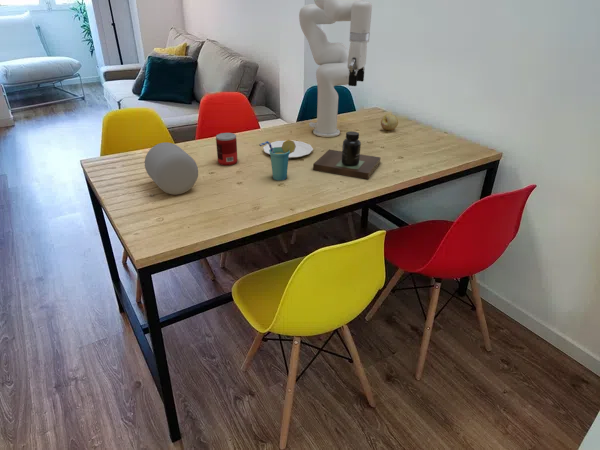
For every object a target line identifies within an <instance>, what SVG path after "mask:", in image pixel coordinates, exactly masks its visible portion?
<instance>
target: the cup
mask: <svg viewBox="0 0 600 450" xmlns="http://www.w3.org/2000/svg"><path fill="white" fill-rule="evenodd" d="M286 140H287V141H286ZM286 140H284V141H285V142H283V145H282V147H274V148H272V146H271V143H272V142H270V141H269V140H267V141H264V142H262V143H259V147H262V146H266V145H267V144H269V147H270V150H269V153H270V154H269V155H270V164H271V173H272V179H273V180H275V181H284V180H286V179H287V178H288V170H289V169H288V168H289V166H288V165H289V159H290V158H289V154H290V153H292V152H294V150H295V147H296V146H295V143H294V141H295V140H293V141H291V140H292V139H286Z"/></svg>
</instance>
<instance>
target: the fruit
mask: <svg viewBox="0 0 600 450" xmlns="http://www.w3.org/2000/svg"><path fill="white" fill-rule="evenodd" d="M398 124H399V119H398V117H397V116H396V115H394V114H393V113H386V114H384V115H383V116H382V118H381V120H380V126H381V128H382V130H384V131H388V132H390V131H393V130H395V129H396V128H397V127H398Z"/></svg>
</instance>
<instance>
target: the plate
mask: <svg viewBox="0 0 600 450" xmlns="http://www.w3.org/2000/svg"><path fill="white" fill-rule="evenodd" d="M287 140H288V139H286V140H275V141H273V142H272V141H271V142H270V143H271V146H272V148H274V147H282V145H283V142H285V141H287ZM290 140H291V141H294V143H295V146H296V147H295V150H294V152H292V153H290V154H289V158H288V159H297V158H301V157H304V156H308V155H310V154H311V153H312V152H313V151H314V148H313V147H312V145H311V144H310V143H306V142H304V141H300V140H299V141H298V140H294V139H293V140H292V139H290ZM262 149H263V152H264V154H266V155H267V154H268V155H270V153H269V150H270V147H269V144H265V145H263V147H262Z"/></svg>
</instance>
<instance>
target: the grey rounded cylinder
mask: <svg viewBox="0 0 600 450" xmlns="http://www.w3.org/2000/svg"><path fill="white" fill-rule="evenodd" d="M144 169H145V171H146V174H147V175H148V176H149V178H150V179H151V180H152V182H153V183H154V184H155V185H157V187H158V188H159V189H160V190H161V191H163V192H164V193H166V194H169V195H175V196H176V195H177V196H178V195H182V194H184V193H186V192H188V191H190V190H192V188H194V186H195V184H196V183H197V181H198V177H199V166H198V164H197V163H196V161H195V159H194V158H193V157H192V156H191V155H189V153H188V152H186V151H185V150H183V149H182V147H180V146H178V145H177V144H174V143H172V142H160V143H157V144H155V145H154V146H152V147H151V148H150V149H149V150H148V152H147V153H146V155H145V158H144ZM146 195H149V193H146ZM153 195H154V194H153V193H151V196H153Z"/></svg>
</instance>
